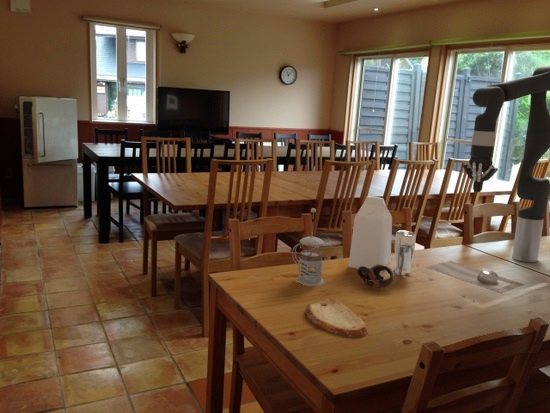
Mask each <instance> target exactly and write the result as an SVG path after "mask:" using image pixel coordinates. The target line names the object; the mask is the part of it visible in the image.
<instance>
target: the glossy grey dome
mask: <svg viewBox="0 0 550 413" xmlns="http://www.w3.org/2000/svg"><path fill="white" fill-rule="evenodd" d="M479 270H480V273H479V275H478V277H477V278H478V280H479V282H482V283H485V284H496V283H497V281H499V280H498V278H499V275H498V273H496V272H494V271H493V270H491V269H489V268H481V269H479Z"/></svg>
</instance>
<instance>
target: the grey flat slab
mask: <svg viewBox="0 0 550 413" xmlns="http://www.w3.org/2000/svg"><path fill="white" fill-rule="evenodd" d="M425 268H427V269H429V270H432V271H435V272H437V273H441V274H444V275H447V276H450V277H452V278H455V279H459V280H462V281H465V282H468V283H470V284H473V285H476V286H479V287H482V288H485V289H488V290H491V291H494V292H496V293H498V294H499V293H500V294H502V293H505V292H509V291H511V290H514V289H517V288H518V287H522V286H524V285H525V284H524V283H522V282H518V281H517V280H516V281H515V280H513V279H510V278H506V277H503V276H499V275H498V276H499V278H498V280H497V281H502V282H504V283H508V285H505V286H502V287H496V286H493V285H491V284H489V283H484V282H481V281H479V280H478V278H477V277H478V275H479V273H480V270H481V269H478V268H474V267H471V266H468V265H465V264H462V263H458V262H456V261H452V260H449V261H445V262H441V263H437V264H433V265H430V266H426V267H425Z"/></svg>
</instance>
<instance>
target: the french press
mask: <svg viewBox="0 0 550 413" xmlns="http://www.w3.org/2000/svg"><path fill="white" fill-rule="evenodd" d="M310 213H312V218H314V215H315V214H314V213H317V209H316V208H314V207H311V209H310ZM311 224H312V227H311V229H312V230H311V236H305V237H303V238H301V239H299V243H298V244H295V246H294V247H293V249H292V252H291V253H292V259H293V261H294V263H295V264H296V265H297V266H298V276H297V277H298V278H297V277H296V279H297V281H298V282H299V283H301V284H304V285H308V286H307V287H318V286H322V285H324V283H325V281H324V279H323V278H322V277H323V276H322V272H323V256H322V255H323V253H322V252H320V251H318V250H312V249H313V247H320V246H323V245H324V244H325V242H324V240H323V239H321V238H319V237H318V236H317V237H316V236H313V232H314V231H313V230H314V223H311ZM304 246H309V247H311V248H310V249H308V250H307V249H305V250H302V251H300V256H299V257H298V258H299V259H298V258H297V255H296V252H297V251H296V250H297V247H299V248H300V249H302V248H304ZM294 257H295V258H294ZM295 259H296V260H295ZM297 262H298V263H297ZM301 284H300V285H301ZM304 285H303V286H304Z"/></svg>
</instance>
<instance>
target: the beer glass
mask: <svg viewBox="0 0 550 413" xmlns="http://www.w3.org/2000/svg"><path fill="white" fill-rule="evenodd" d="M416 235H417V234H416V232H413V231H409V230H398V231H396V233H395V240H394V256H395V257H394V258H395V259H394V260H395V265H394V269H393V275H396V276H400V277H410V275H409V274H410V273H411V272H412V270H411V269H412V268H411V266H412V261H413V258H414V253H415V250H416V249H415V248H416Z"/></svg>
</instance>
